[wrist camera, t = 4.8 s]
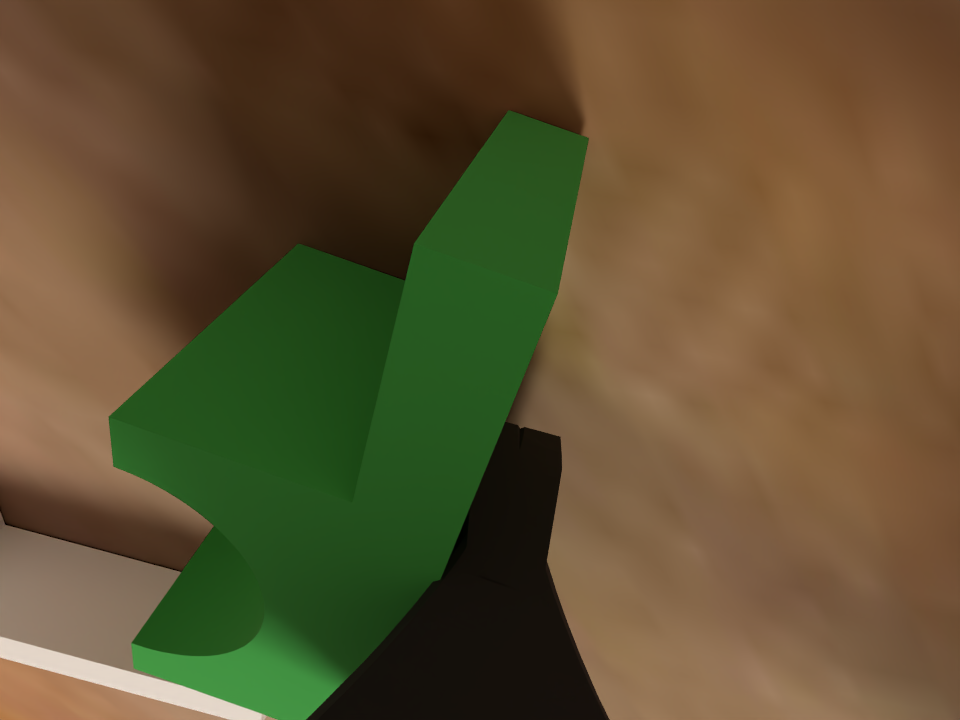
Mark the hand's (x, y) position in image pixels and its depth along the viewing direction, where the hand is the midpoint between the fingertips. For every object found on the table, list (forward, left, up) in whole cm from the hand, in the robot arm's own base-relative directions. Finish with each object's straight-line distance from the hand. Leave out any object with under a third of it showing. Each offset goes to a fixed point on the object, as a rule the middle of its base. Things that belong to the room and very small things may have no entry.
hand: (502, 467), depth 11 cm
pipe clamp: (+2, 0, -1) cm, 3 cm away
